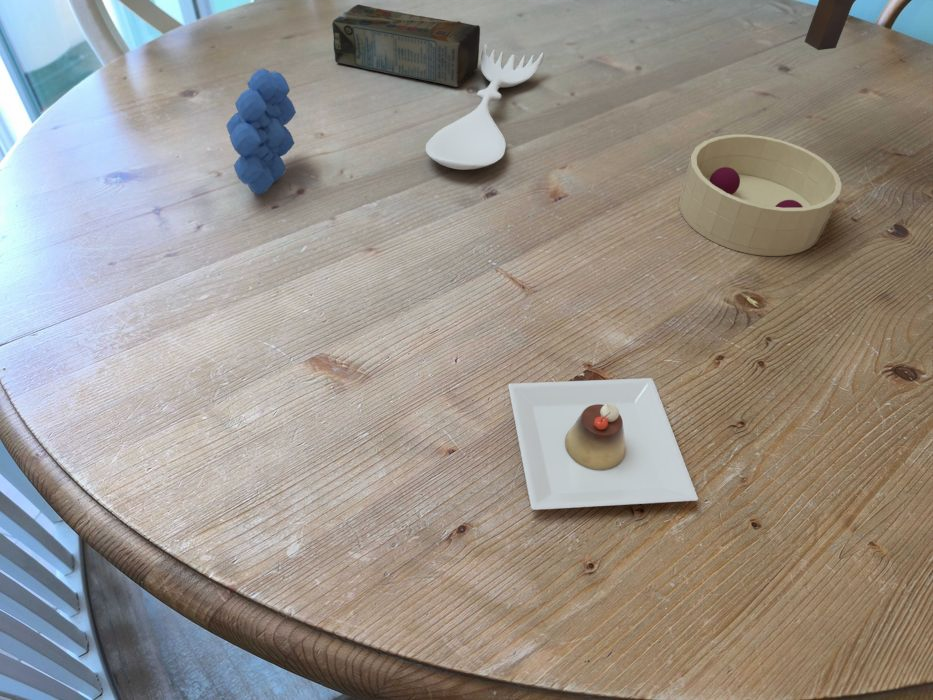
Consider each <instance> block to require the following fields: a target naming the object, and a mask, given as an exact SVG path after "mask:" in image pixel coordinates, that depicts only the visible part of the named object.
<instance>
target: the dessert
mask: <svg viewBox="0 0 933 700" xmlns="http://www.w3.org/2000/svg"><path fill="white" fill-rule="evenodd" d="M507 387H508V393H509V397H510V402H511V408H512V414H513V420H514V423H515V429H516V434H517V439H518V440H517V441H518V446H519V450H520V451H519V452H520V455H521V456H520V457H521V461H522V466H523V472H524V476H525V482H526V488H527V493H528V498H529V503H530V508H531V510H532V511H536V510H537V511H539V510H556V509H572V508H573V509H574V508H589V507H607V506H624V505H640V504H642V505H644V504H659V503H660V504H661V503H676V502H677V503H678V502H695V501H698V500H699V497H698V494H697V492H696V489H695V486H694V484H693V481H692V479H691V475H690V473H689V471H688V468H687V465H686V463H685V460H684V457H683V455H682V453H681V450H680V447H679V445H678V441H677V439H676V437H675V434H674V431H673V428H672V426H671V423H670V420H669V418H668V415H667V413H666V410H665V408H664V405H663V402H662V400H661V397H660V394H659V392H658V389H657V386H656V384H655V382H654V379H653V378H652V377H643V378H642V377H641V378H620V379H619V378H618V379H591V380H568V381H545V382H544V381H543V382H541V381H540V382H518V383H515V382H514V383H508V384H507Z"/></svg>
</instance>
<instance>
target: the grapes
mask: <svg viewBox="0 0 933 700" xmlns="http://www.w3.org/2000/svg"><path fill="white" fill-rule="evenodd" d="M246 84H247V87H248V88H247V89H245V90H244V91H242V93H240V95H239V96H238V98H237V100H236V101H235V103H234V105H235V108H236V111H237V112H235V113H234V114H233V115H232V116H231V117H230V118H229V121H228V122H227V123H226V129H227V132H228V135H229V141H230V143H231V145H232V147H233V149H234V151H235V152H236V153H237V154H238V155H239V157H238V158H237V159H236V161H235V162H234V164H233V168H234V172H235V173H236V176H237V178H238V179H239V180H240V181H241V183H242V184H244V185H247V186H248V188H249V189H250V190H251V192H252V193H253V194H256V195H262V194H265V193H266V192H267V191H268V190H269V188H271V187H272V186H273V184H274V183H275V182H277V181H279V179H281V177H282V176H283V175H284V174H285V173H286V171H287V168H286V166H285V163H284V160H283V158H282V156H285V155H286V154H287V153H289V151H290V150H291V149H292V148H293V146H294V145H295V141H294V137H293V135H292V133H291V132H290V130H289V129H288V128H287V127H286V125H288V123H289V122H290V121H292V119H293V117H294V116H295V115H296V113H297V111H296V107H295V106H294V104H293V101H292V100H291V98H289V96H288V94H289V93H290V91H291V89H290V86H289V84H288V82H287V80H286V78H285V77H284V75H283V74H282V73H280V72H278V71H272V72H270V71H269V70H268V69H266V68H263V67H262V68H259V69H257V70H256V71H255V72H254V73H253V74H252V75H251V76H250V78H249V80H248V82H247V83H246Z"/></svg>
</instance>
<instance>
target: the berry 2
mask: <svg viewBox="0 0 933 700" xmlns="http://www.w3.org/2000/svg"><path fill="white" fill-rule="evenodd" d="M775 207H781V208H801V207H803V206H802V205H801V204H800V203H799V202H797V201H795V200H784V201H782V202H780V203H778V204H777V205H776V206H775Z"/></svg>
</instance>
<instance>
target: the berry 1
mask: <svg viewBox="0 0 933 700" xmlns="http://www.w3.org/2000/svg"><path fill="white" fill-rule="evenodd" d="M709 181H710V182H711V183H712V184H713V185H715V186H716V187H718V188H720V189H721V190H723V191H725V192H726V193H728V194H731V195H732V194H734V193H735V192H736V191H737V189H738V188H739V185H740V177H739V175H738V173H737V172H736V171H735V170H734V169H732V168H729V167H723V168H719V169H717V170H716V171H715V172H714V173H713V174H712V175H711V177H710V180H709Z"/></svg>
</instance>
